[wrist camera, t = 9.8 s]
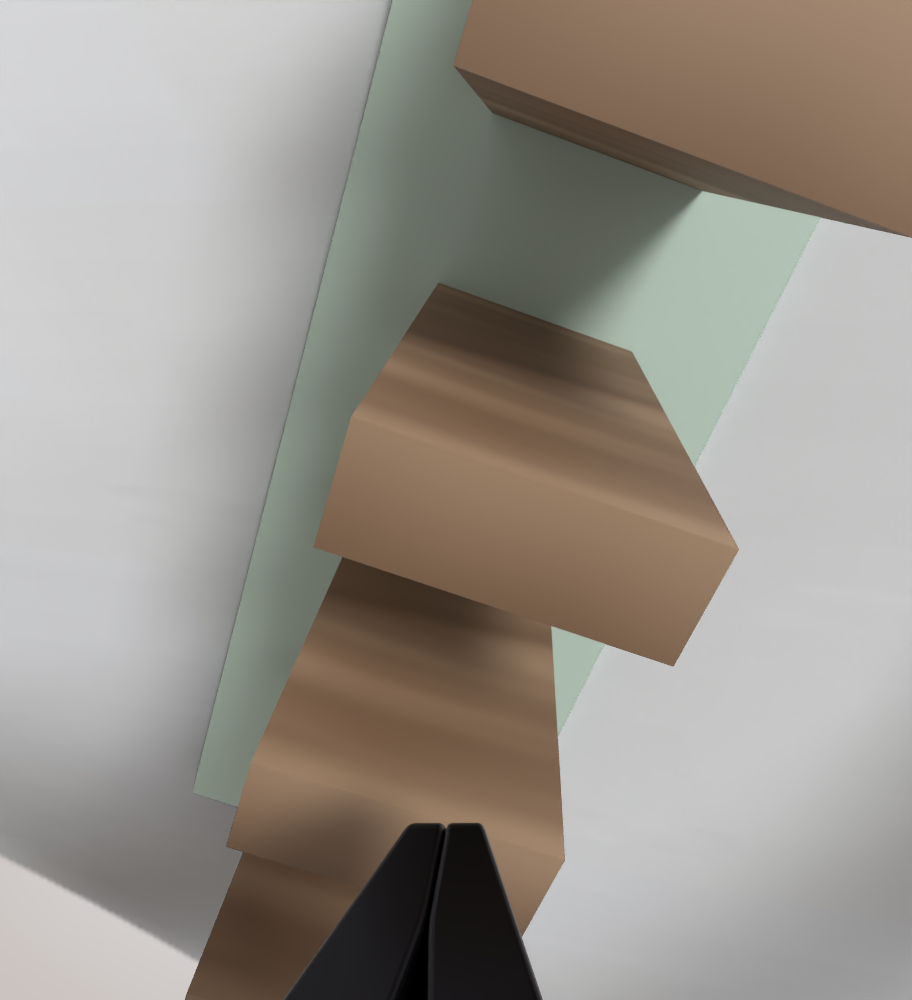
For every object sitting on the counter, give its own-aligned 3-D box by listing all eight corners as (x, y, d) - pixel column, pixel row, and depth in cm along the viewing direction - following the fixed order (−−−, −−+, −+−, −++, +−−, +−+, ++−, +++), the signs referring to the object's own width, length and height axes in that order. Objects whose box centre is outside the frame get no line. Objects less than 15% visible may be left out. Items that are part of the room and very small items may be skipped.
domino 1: (322, 653, 23) (186, 994, 13) (479, 704, 23) (449, 1071, 14) (307, 700, 23) (168, 1052, 14) (459, 749, 24) (419, 1125, 14)
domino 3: (438, 282, 18) (350, 416, 9) (631, 351, 18) (738, 549, 9) (415, 355, 19) (313, 547, 10) (601, 420, 19) (673, 667, 10)
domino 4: (373, 487, 20) (250, 761, 11) (546, 546, 21) (564, 860, 11) (355, 545, 21) (226, 846, 12) (522, 601, 21) (521, 936, 12)
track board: (1192, -548, 12) (1223, -580, 12) (484, 867, 26) (483, 882, 26) (606, -815, 12) (610, -861, 11) (198, 779, 26) (192, 792, 25)
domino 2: (521, 18, 16) (519, -164, 7) (741, 102, 16) (1025, 37, 7) (491, 113, 16) (452, 65, 7) (702, 191, 17) (912, 238, 8)
